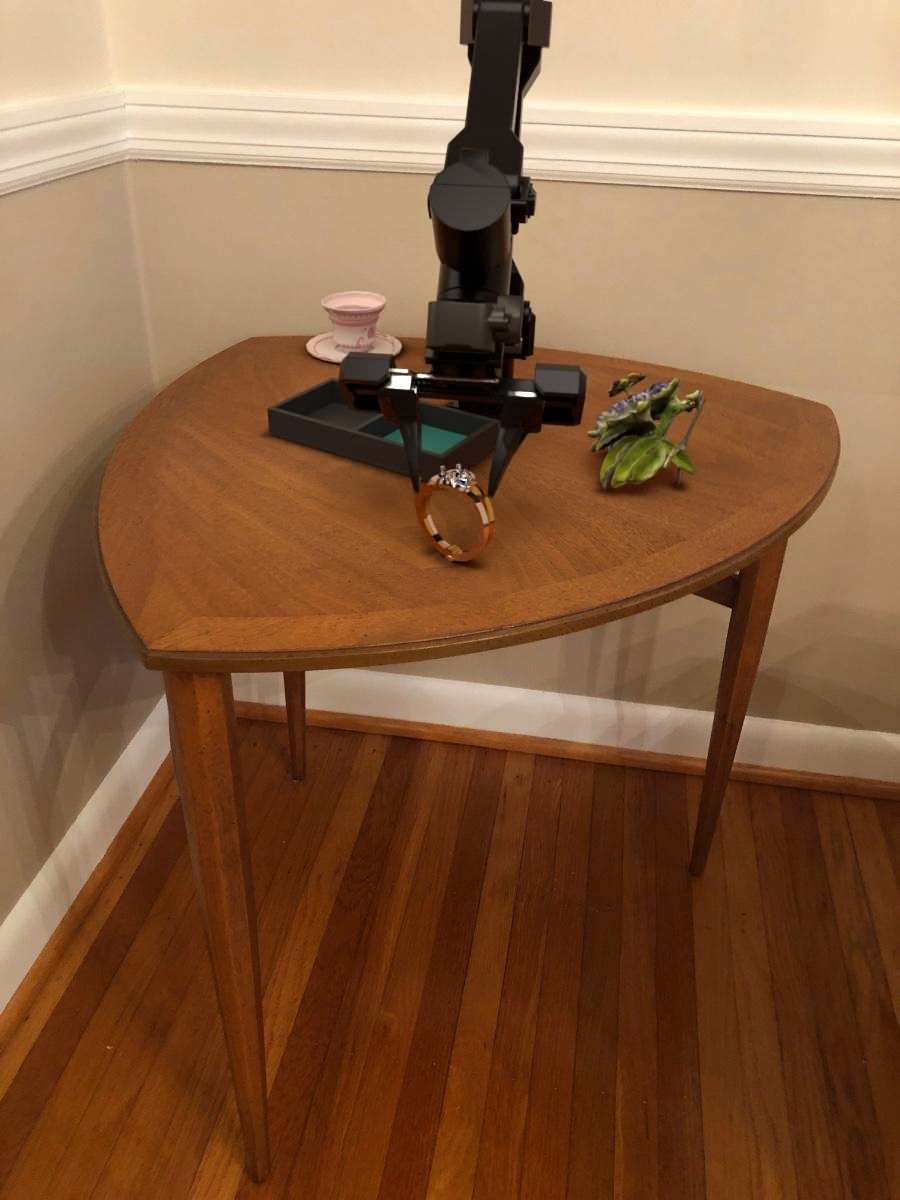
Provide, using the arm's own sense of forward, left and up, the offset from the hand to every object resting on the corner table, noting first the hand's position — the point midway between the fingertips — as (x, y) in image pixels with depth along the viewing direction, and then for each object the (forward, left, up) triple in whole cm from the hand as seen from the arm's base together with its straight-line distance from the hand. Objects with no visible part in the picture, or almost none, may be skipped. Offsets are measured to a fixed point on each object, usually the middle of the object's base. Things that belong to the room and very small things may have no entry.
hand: (453, 494), depth 72 cm
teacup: (-38, -38, -7) cm, 54 cm away
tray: (-17, -19, -7) cm, 26 cm away
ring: (-1, -1, -7) cm, 7 cm away
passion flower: (-25, +6, -7) cm, 27 cm away
